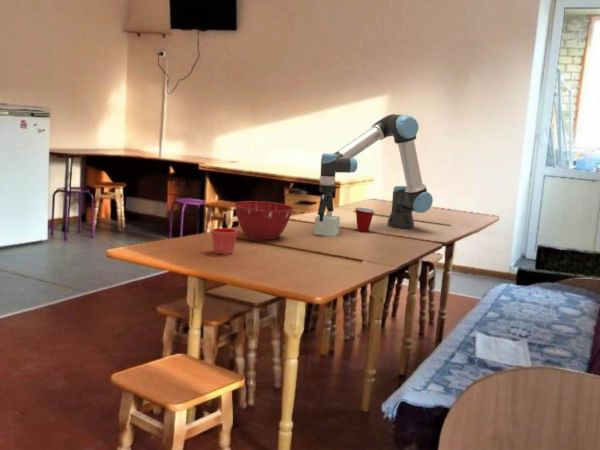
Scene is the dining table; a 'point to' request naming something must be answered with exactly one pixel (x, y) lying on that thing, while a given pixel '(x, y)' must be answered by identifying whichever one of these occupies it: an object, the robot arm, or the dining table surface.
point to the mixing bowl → (262, 218)
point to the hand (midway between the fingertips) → (324, 225)
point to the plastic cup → (364, 218)
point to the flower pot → (224, 240)
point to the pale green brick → (327, 226)
